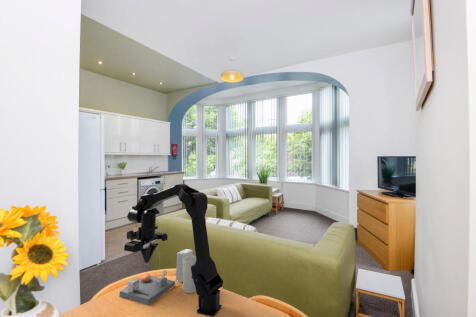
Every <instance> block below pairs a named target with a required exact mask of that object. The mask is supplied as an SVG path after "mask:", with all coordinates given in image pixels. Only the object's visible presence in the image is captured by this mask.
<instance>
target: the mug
mask: <svg viewBox="0 0 476 317" xmlns="http://www.w3.org/2000/svg"><path fill="white" fill-rule="evenodd" d="M195 262H196V255H193V256H187V257H184V258H183V283H182V291H183V293H186V294H194V293H197V292H196V288H195V284H194V281H193V279H192V272H191V266H192V265H194V264H195ZM193 292H194V293H193Z"/></svg>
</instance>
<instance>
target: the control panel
mask: <svg viewBox="0 0 476 317" xmlns="http://www.w3.org/2000/svg"><path fill="white" fill-rule="evenodd" d="M160 279H161V277H158V276H154V275H150V281H148V282H142V278H141V279H139V289H138V290H136V291H135V292H133V293H131V292H128V291H127V288H128V286H126V287H124V288H123V289H120V290H119V298H122V299H126V300H129V301H133V302H136V303H140V304H144V305H147V306H149V305H151V304H152V303H154V302H155V301H156V300H158V299H160V296H161V297H162V296H163V295H165V294H166V293H167V292H169V291H170V290H171V289H170V288H172V287H173V286H174V285H175V286H176V280H171V279H168V277H166V276H165V278H164V283H163V284H161V281H159V280H160ZM175 286H174V287H175ZM174 287H173V288H174ZM173 288H172V289H173ZM169 289H170V290H169ZM168 290H169V291H168ZM165 292H166V293H165ZM164 293H165V294H164Z"/></svg>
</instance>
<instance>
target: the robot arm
mask: <svg viewBox="0 0 476 317" xmlns="http://www.w3.org/2000/svg"><path fill="white" fill-rule="evenodd" d="M176 197H178V199H179V201H180V202H181V203H182V204H184V207H185V211H186V213H187V214H188V216H189V217H190V218H191V226H192V235H193V243H194V253H195V256H196V262H195V264H194V265H192V266H191V272H192V279H193V281H194V284H195V288H196V292H195V293H196V295H198V298H197V299H198V302H197V303H198V305H197V307H198V308H197V309H196V313H197V314H201V315H205V316H208V317H216V315H217V313H218V312H219V311H220V310H221V308H222V306H223V305H222V304H221V302H220V301H221V300H220V299H221V290H220V289H221V288H222V287H223V285H224V282H225V281H224V280H223V278H221V277H222V276H221V275H220V274H219V272H218V270H217V265H216V263H215V260H214V259H213V258H212V257H211V254H210V245H209V237H208V231H207V230H208V229H207V223H206V214H207V210H208V206H209V205H208V199H209V198H208V196H207V195H206V194H205V193H204V192H201V191H199V190H198V189H196V188H193V187H190V186H189V185H187V184H185V183H178V184H175V185H174V186H171V187H169V188H166V189H162V190H161V191H158V192H155V193H147V194H142V195H140V198H139V199H138V202H137V203H136V205H134V206H132V207H131V208H130V210H129V211H128V212H127V220H128V221H129V222H132V223H138V224H140V226H139V227H138V228H137V231H134V230H133V229H131V230H128V231H126V239H127V240H130V241H128V242H126V243H125V244H124V248H123V251H126V252H130V253H138V252H140V253H141V255H142V258H143V261H144V263H145V264H148V263H149V262H150V260H151V258H152V256H153V254H154V252H155V250H156V248H157V247H158V246H159V243H157V241H159V240H161V241H162V242H166V241H168V239H169V238H168V234H167V233H165V232H156V230H158V225H156V224H157V220H156V219H157V215H159V214H161V212H160V211H159V210H158V208H157V207H159V206H160V205H162V203H163V202H165V201H168V200H171V199H173V198H176Z"/></svg>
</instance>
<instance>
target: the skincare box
mask: <svg viewBox="0 0 476 317" xmlns="http://www.w3.org/2000/svg"><path fill="white" fill-rule="evenodd" d="M193 251H194V250H193V249H188V248H185V249H182V250H180V251H179V252H176V267H175V270H176V272H175V281H176V280H178V281H177V282H179V281H180V282H179V283H182V282H183V258H184V257H187V256H194V253H193Z"/></svg>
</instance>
